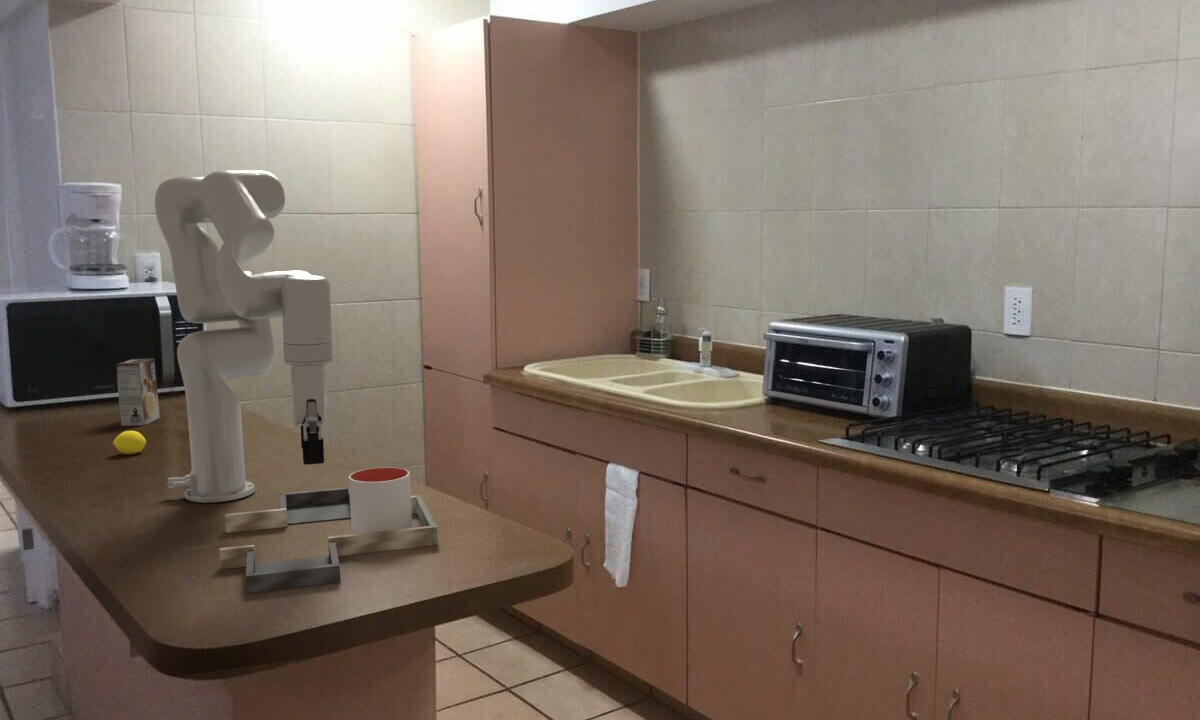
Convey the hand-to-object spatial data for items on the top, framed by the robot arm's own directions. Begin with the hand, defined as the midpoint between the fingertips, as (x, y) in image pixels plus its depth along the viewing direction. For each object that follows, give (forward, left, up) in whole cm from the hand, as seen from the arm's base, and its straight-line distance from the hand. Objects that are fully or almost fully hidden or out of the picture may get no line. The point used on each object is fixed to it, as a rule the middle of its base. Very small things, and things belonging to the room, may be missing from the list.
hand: (312, 455), depth 173 cm
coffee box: (-40, +116, -14) cm, 124 cm away
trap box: (+2, -1, -14) cm, 14 cm away
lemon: (-38, +78, -14) cm, 88 cm away
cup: (+11, -1, -14) cm, 18 cm away
